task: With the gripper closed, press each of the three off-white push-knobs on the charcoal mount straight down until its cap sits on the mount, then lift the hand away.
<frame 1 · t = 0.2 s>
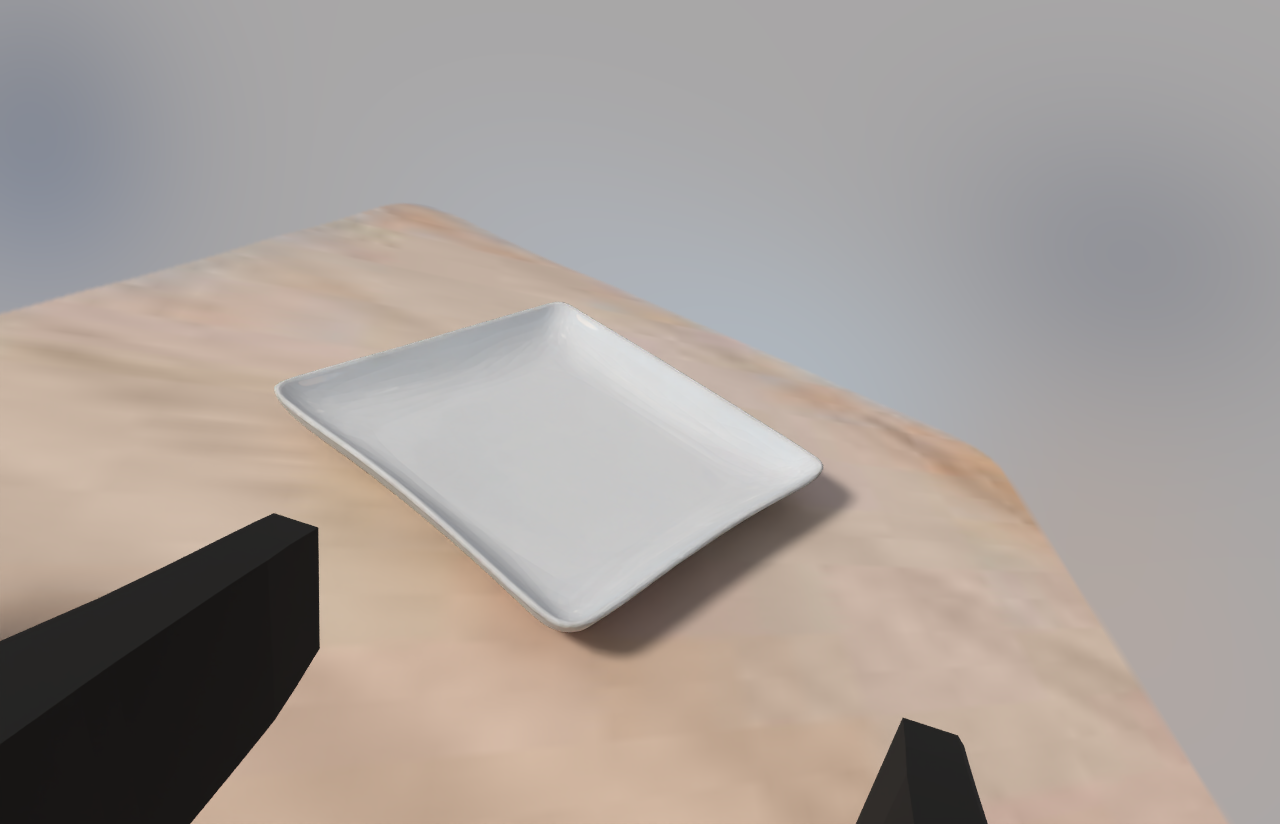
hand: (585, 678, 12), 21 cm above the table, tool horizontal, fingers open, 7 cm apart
salad plate: (553, 477, 52), on the table
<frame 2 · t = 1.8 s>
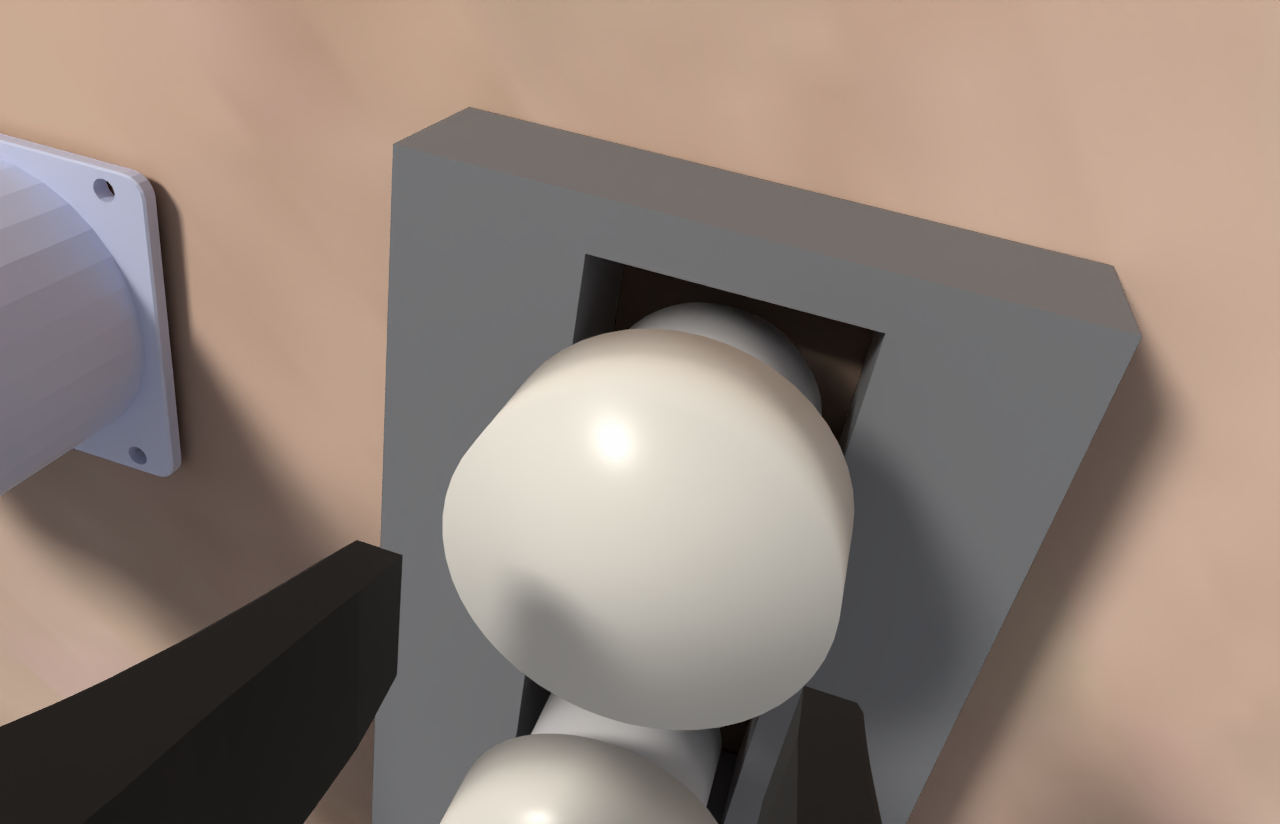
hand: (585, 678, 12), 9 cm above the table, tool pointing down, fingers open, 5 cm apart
knob b: (599, 818, 20), point 5 cm above the table, slide at 2.2 cm
mount: (660, 654, 24), on the table
knob a: (675, 479, 15), point 5 cm above the table, slide at 2.2 cm
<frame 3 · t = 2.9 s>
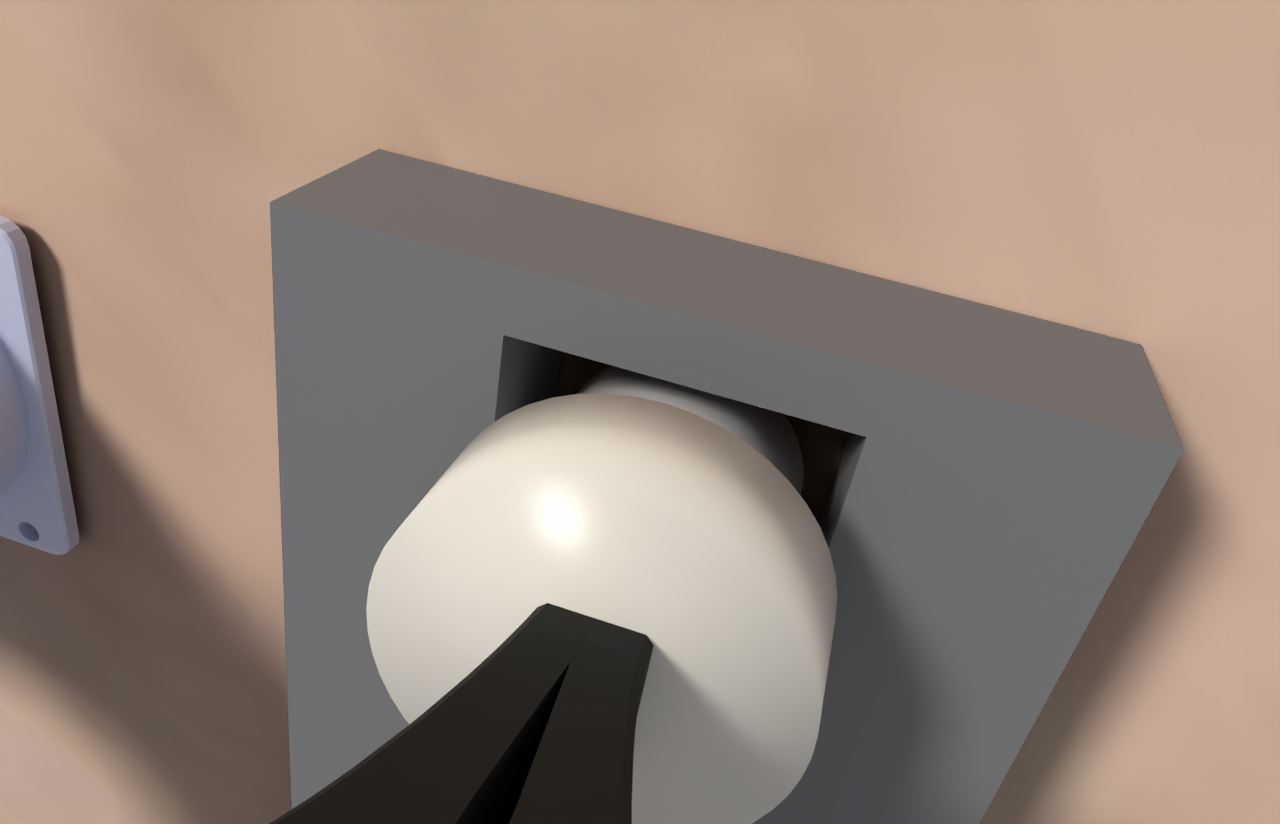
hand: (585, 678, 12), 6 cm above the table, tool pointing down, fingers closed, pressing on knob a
mount: (618, 759, 21), on the table
knob a: (637, 555, 14), point 4 cm above the table, slide at 0.9 cm, touching gripper
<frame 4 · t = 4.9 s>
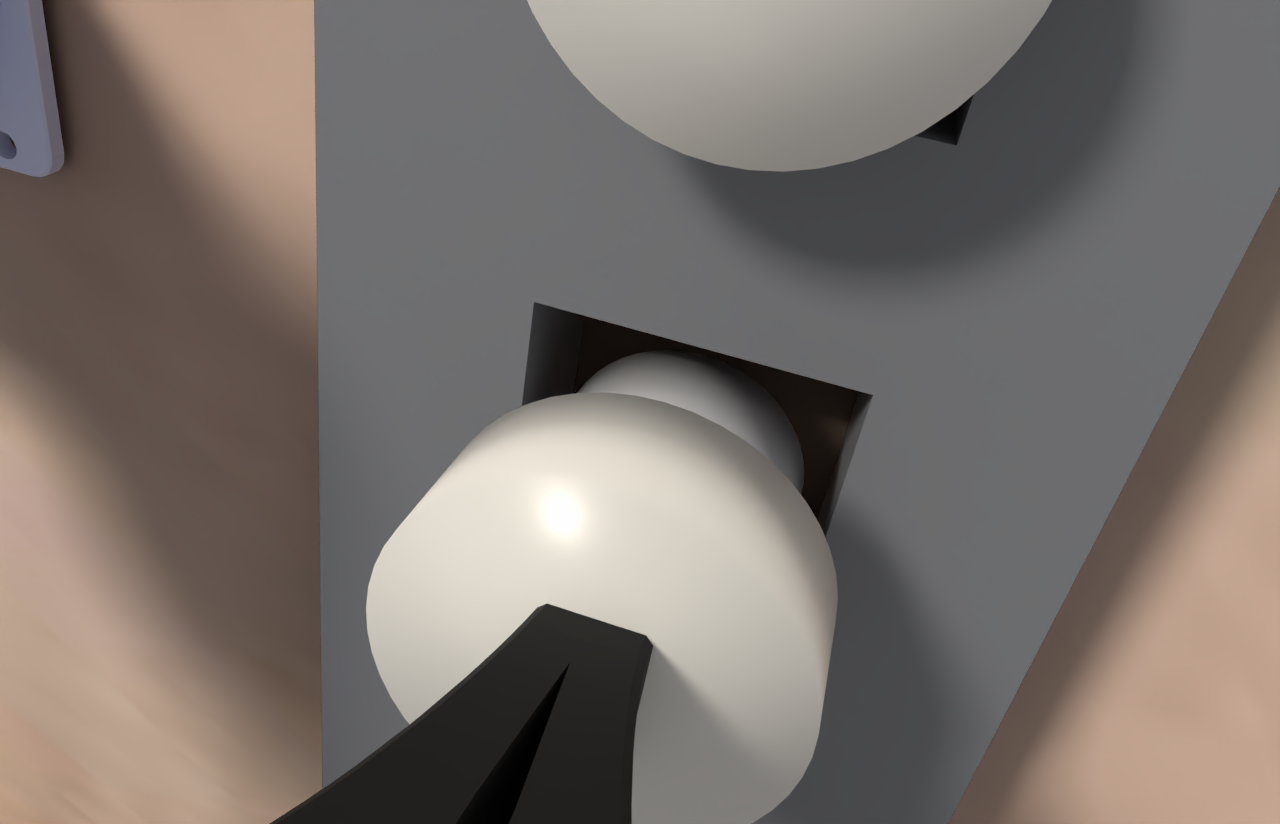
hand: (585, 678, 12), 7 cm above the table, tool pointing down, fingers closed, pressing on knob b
knob b: (637, 554, 14), point 5 cm above the table, slide at 2.0 cm, touching gripper
mount: (708, 399, 18), on the table
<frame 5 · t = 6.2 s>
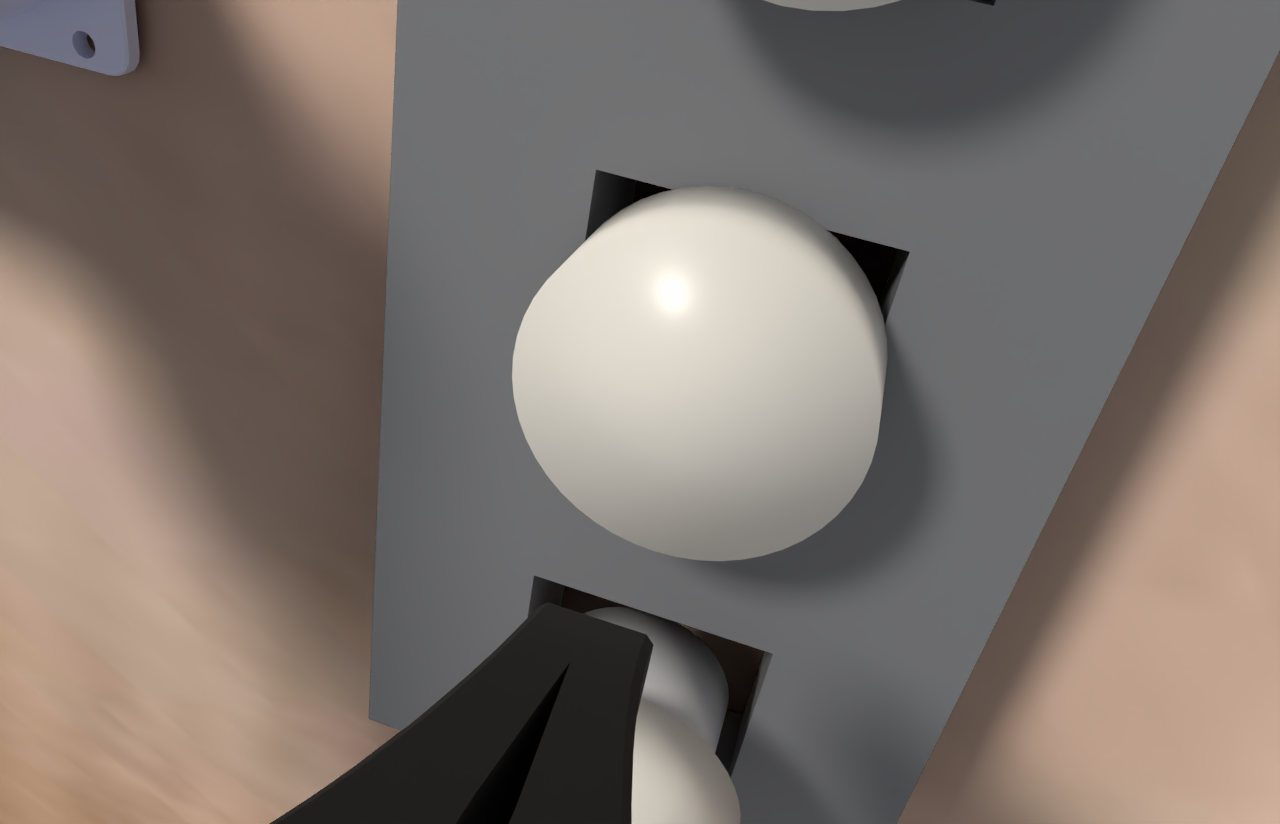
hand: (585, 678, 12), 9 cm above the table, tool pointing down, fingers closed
knob b: (720, 340, 17), point 3 cm above the table, slide at -0.2 cm
knob c: (603, 769, 19), point 5 cm above the table, slide at 2.2 cm
mount: (746, 286, 19), on the table
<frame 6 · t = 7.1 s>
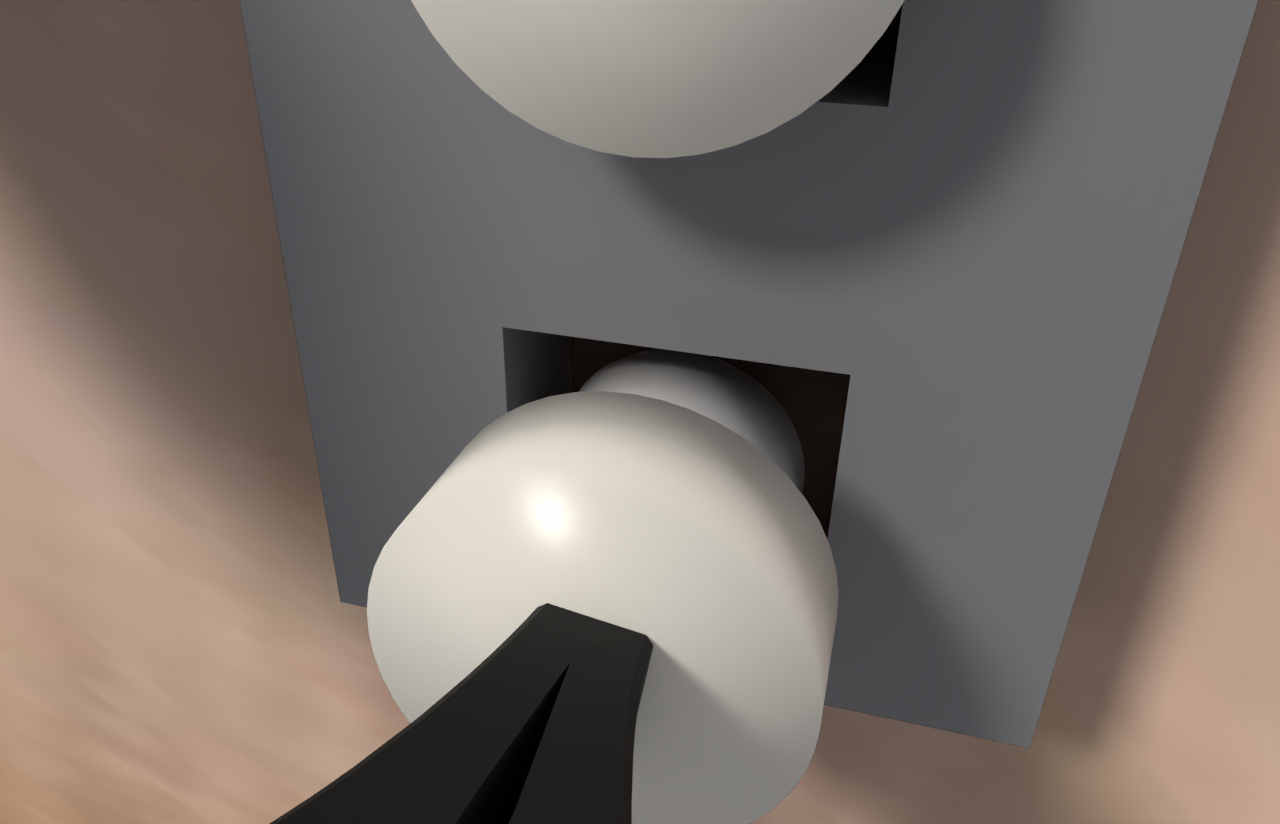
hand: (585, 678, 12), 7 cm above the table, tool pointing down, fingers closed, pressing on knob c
knob c: (638, 553, 14), point 4 cm above the table, slide at 1.7 cm, touching gripper
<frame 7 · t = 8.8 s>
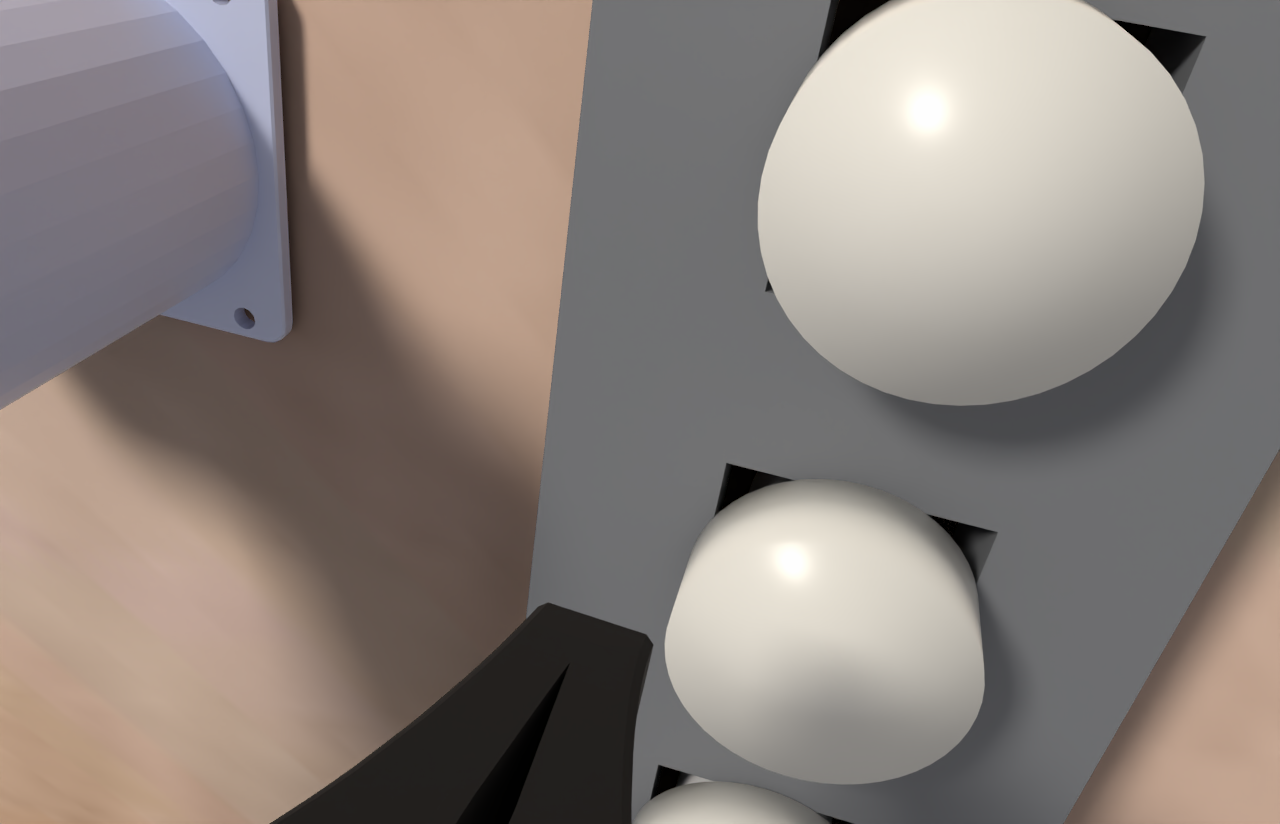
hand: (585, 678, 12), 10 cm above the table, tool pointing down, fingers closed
knob b: (828, 584, 20), point 3 cm above the table, slide at -0.2 cm
mount: (837, 512, 22), on the table
knob a: (960, 169, 15), point 3 cm above the table, slide at -0.2 cm
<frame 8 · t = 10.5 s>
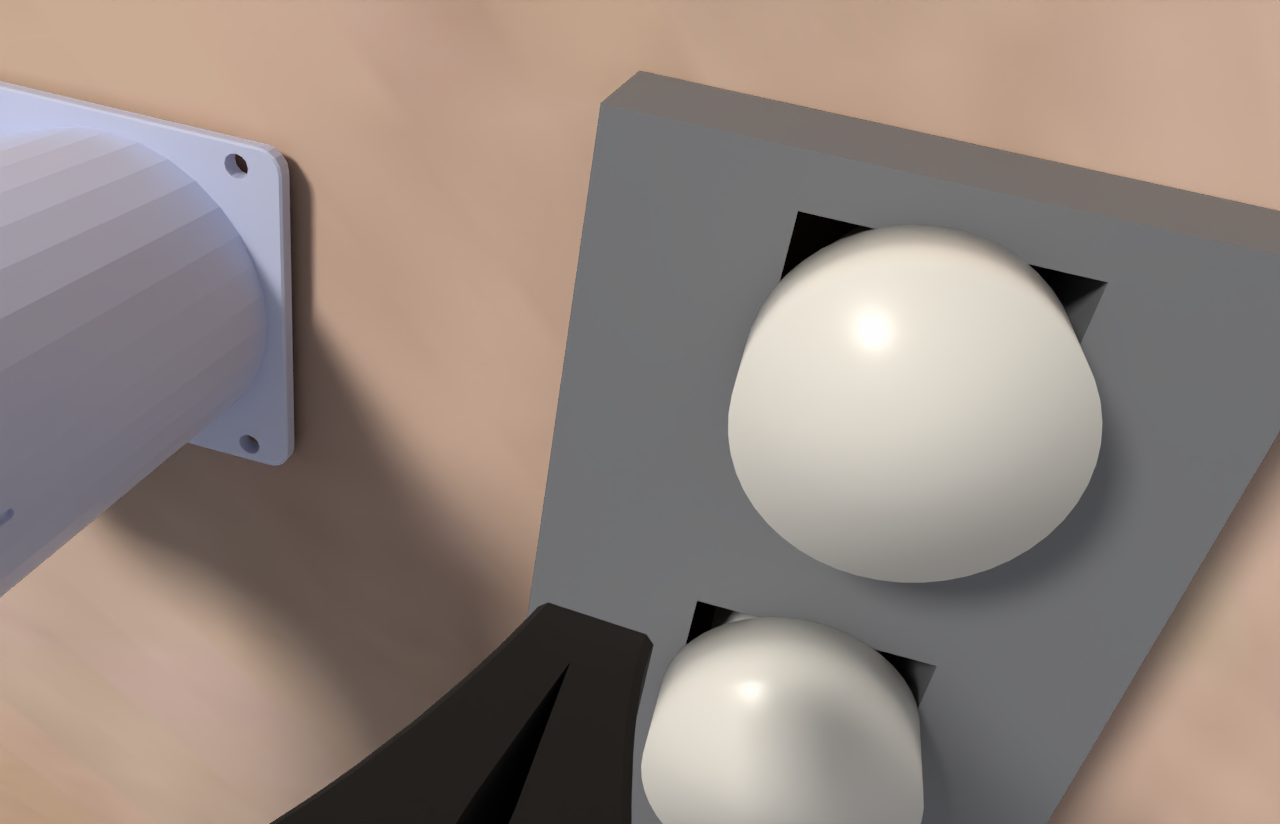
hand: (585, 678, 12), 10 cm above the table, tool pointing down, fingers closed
knob b: (787, 701, 22), point 3 cm above the table, slide at -0.2 cm
mount: (796, 625, 24), on the table
knob a: (903, 368, 17), point 3 cm above the table, slide at -0.2 cm
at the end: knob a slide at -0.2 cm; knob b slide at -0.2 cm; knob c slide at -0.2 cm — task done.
